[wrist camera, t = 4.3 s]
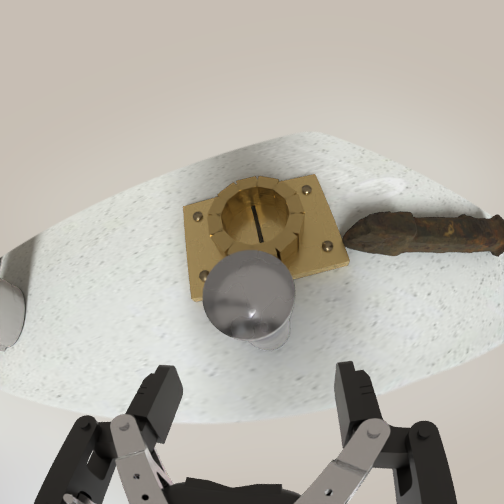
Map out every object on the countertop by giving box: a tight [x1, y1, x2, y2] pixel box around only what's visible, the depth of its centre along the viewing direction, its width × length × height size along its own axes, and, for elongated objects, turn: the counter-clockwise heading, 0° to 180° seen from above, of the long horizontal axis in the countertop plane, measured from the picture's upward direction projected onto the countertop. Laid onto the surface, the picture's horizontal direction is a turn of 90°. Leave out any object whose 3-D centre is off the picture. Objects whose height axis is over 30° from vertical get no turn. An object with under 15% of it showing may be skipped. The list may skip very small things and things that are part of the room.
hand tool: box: [342, 211, 504, 257], centre depth 21 cm, size 19×4×5 cm, turn 85°
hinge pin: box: [203, 250, 295, 351], centre depth 18 cm, size 4×4×11 cm
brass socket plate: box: [183, 174, 350, 302], centre depth 24 cm, size 14×10×4 cm
